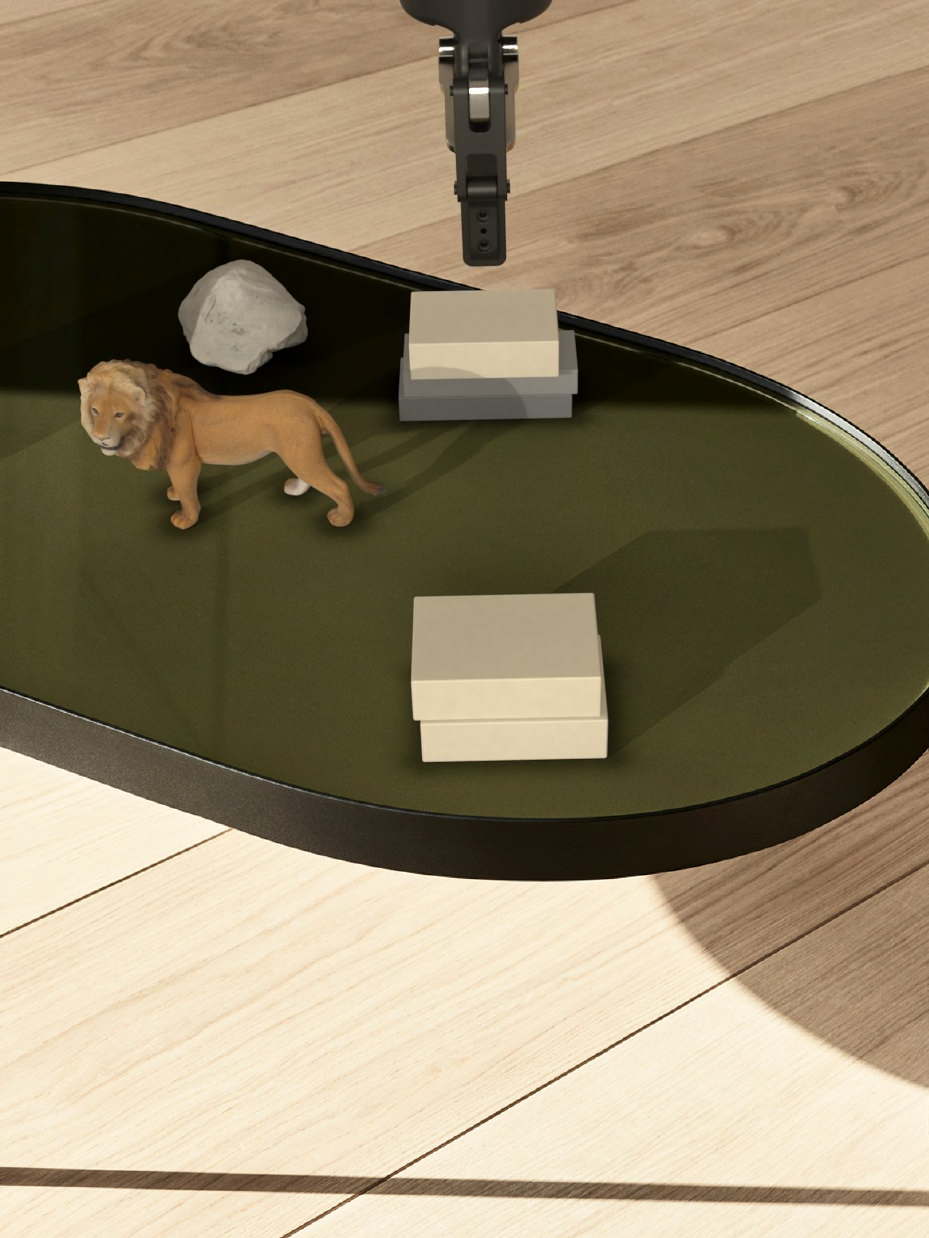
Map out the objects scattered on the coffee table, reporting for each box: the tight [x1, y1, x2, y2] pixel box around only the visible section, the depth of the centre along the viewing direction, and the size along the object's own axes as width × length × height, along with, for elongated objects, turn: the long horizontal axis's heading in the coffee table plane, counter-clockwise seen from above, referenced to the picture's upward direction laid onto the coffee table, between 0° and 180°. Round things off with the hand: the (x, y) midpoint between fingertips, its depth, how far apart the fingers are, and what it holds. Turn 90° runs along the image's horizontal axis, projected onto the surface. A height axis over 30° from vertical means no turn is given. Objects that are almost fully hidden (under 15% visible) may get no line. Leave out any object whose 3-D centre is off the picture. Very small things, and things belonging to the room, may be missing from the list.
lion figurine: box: [77, 358, 387, 530], centre depth 92 cm, size 15×5×9 cm, turn 98°
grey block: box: [398, 329, 579, 422], centre depth 102 cm, size 10×4×3 cm, turn 91°
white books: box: [410, 592, 609, 763], centre depth 81 cm, size 8×6×4 cm
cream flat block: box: [408, 288, 559, 380], centre depth 101 cm, size 8×6×2 cm
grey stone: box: [177, 259, 308, 375], centre depth 106 cm, size 9×8×5 cm
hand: (484, 225), depth 97 cm, fingers open, 8 cm apart
